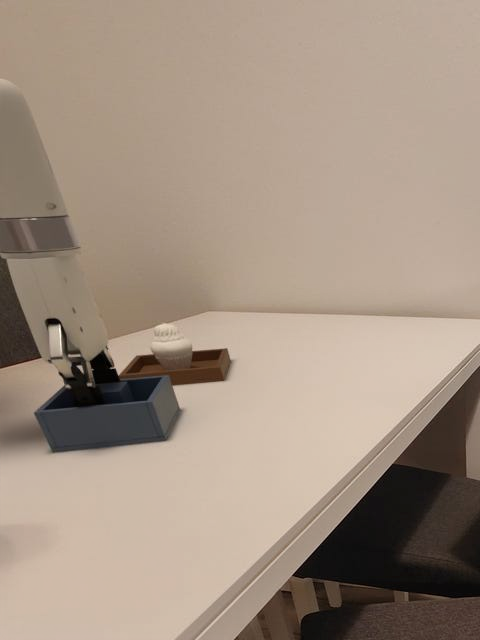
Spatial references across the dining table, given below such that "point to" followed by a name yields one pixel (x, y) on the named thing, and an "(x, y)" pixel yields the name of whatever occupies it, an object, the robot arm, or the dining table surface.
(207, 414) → the dining table surface
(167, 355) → the muffin
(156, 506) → the dining table surface
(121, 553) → the dining table surface
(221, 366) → the brown tray
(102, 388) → the blue block
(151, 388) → the blue bin
